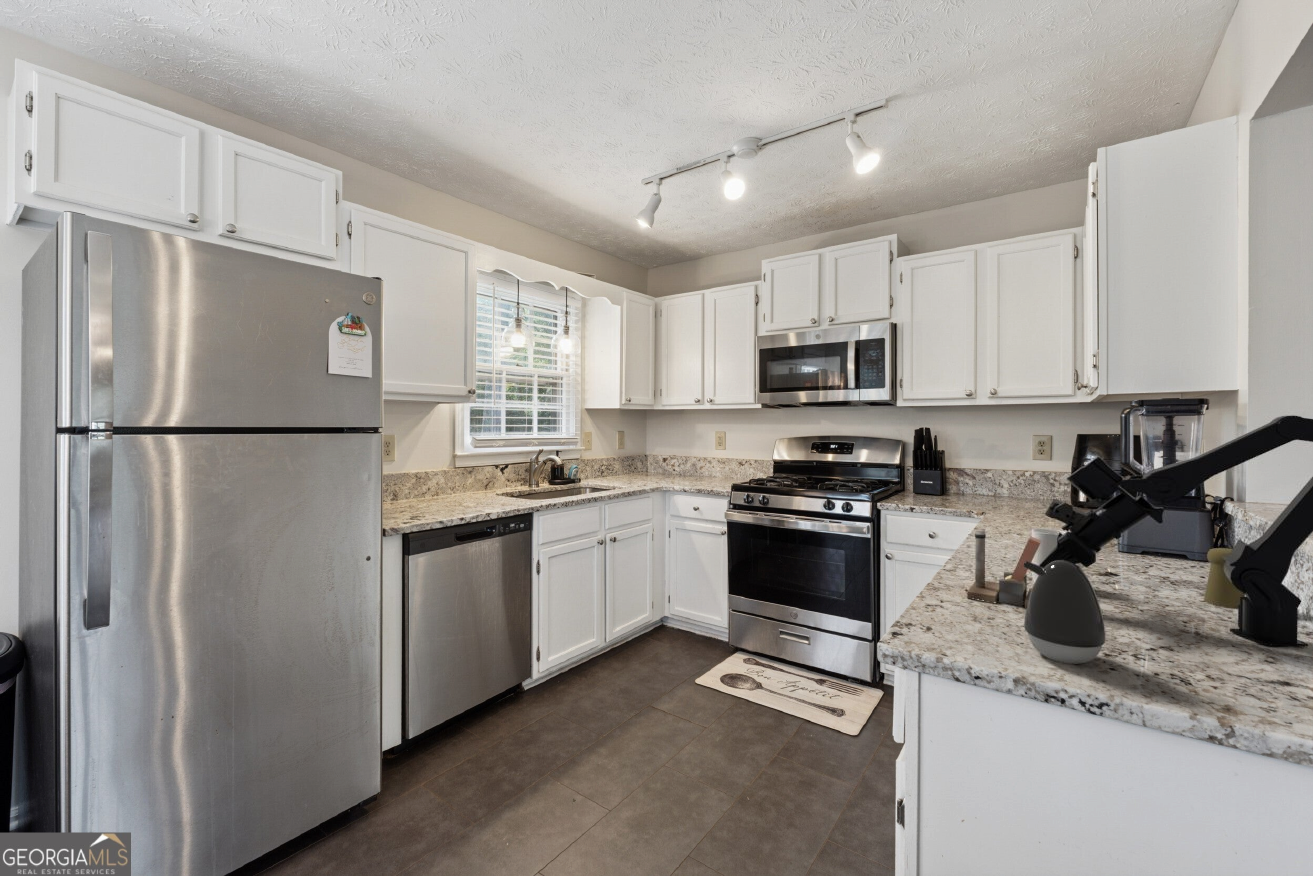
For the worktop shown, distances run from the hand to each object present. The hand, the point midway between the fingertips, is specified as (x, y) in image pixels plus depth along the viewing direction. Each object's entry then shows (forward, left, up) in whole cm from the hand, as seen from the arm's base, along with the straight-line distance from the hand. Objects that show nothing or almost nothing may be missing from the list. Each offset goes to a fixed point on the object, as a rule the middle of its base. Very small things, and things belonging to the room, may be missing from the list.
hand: (1041, 567), depth 112 cm
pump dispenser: (-26, +12, -7) cm, 30 cm away
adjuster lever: (+3, +4, -7) cm, 9 cm away
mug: (+13, -11, -7) cm, 18 cm away
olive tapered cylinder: (+2, -36, -7) cm, 37 cm away
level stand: (+3, +4, -7) cm, 9 cm away
